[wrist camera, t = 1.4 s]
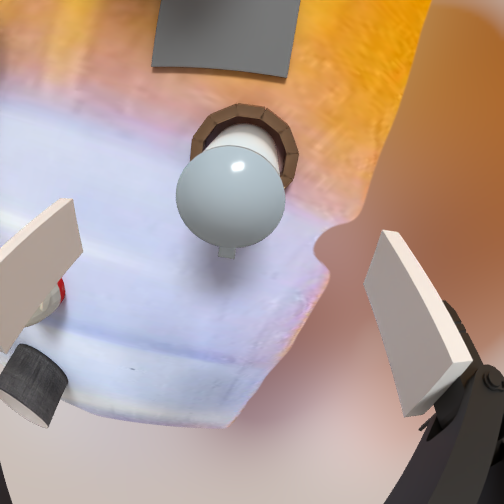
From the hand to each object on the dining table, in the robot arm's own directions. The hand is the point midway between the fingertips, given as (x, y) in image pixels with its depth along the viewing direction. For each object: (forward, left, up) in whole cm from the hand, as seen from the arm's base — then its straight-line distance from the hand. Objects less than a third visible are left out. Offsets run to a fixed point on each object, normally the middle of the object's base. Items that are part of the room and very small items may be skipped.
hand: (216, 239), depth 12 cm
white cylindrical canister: (0, -4, -21) cm, 22 cm away
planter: (-49, -61, -22) cm, 81 cm away
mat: (-4, +14, -21) cm, 26 cm away
